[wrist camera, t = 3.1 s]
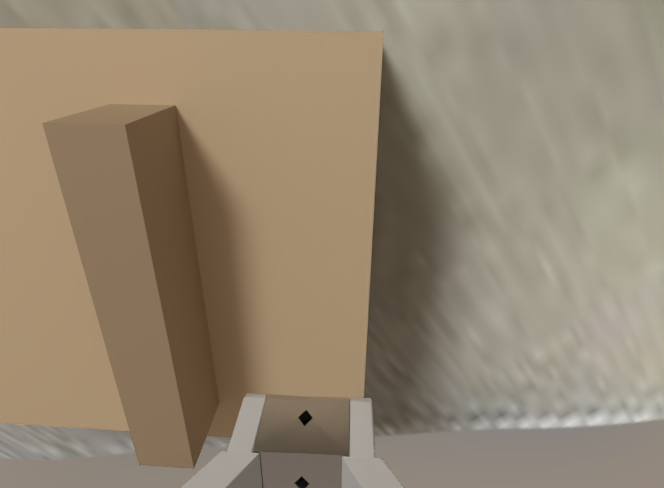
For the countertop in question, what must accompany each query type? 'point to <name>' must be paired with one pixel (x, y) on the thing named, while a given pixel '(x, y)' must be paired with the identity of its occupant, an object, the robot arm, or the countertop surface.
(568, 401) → the countertop surface
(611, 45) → the countertop surface
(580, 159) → the countertop surface
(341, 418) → the robot arm
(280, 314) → the tan box lid
